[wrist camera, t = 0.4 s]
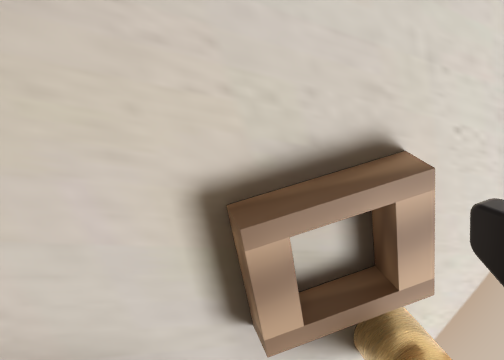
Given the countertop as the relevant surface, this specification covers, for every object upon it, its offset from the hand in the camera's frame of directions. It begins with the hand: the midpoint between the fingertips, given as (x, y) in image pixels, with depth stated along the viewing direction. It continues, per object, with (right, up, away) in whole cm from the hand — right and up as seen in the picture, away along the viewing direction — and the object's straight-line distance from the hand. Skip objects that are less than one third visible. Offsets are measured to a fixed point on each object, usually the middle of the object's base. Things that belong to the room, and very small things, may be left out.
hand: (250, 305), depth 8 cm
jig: (+4, -1, +18) cm, 18 cm away
